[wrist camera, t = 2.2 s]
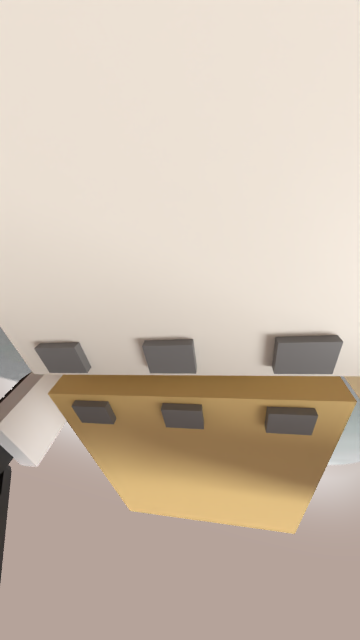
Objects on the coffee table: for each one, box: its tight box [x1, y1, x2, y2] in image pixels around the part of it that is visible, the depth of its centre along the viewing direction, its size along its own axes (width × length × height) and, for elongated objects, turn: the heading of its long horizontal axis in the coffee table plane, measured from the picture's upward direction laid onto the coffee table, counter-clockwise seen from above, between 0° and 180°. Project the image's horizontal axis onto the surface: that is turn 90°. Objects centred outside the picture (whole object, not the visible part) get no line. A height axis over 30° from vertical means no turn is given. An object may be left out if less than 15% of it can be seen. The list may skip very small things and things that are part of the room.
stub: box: [48, 375, 357, 534], centre depth 10 cm, size 7×6×11 cm
